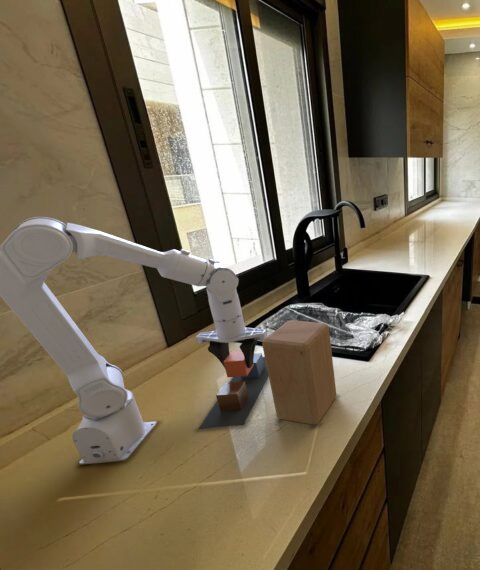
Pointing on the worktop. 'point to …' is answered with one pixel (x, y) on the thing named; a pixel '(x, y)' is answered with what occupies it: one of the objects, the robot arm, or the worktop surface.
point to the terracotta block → (236, 365)
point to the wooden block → (300, 370)
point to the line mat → (240, 416)
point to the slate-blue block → (256, 366)
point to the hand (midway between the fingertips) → (239, 366)
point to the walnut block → (232, 396)
